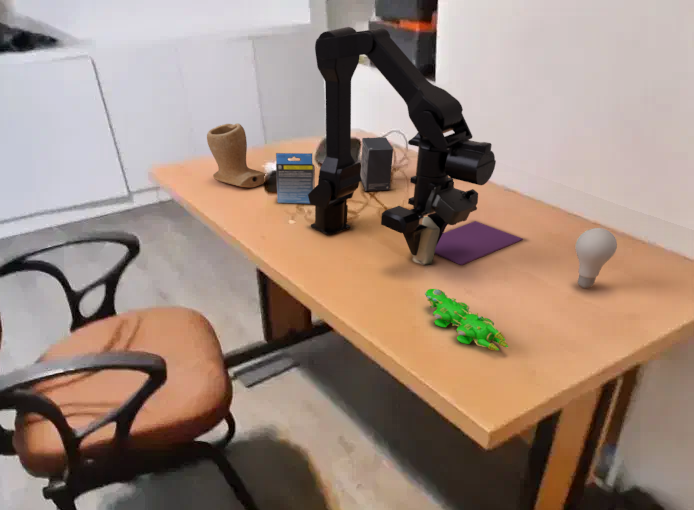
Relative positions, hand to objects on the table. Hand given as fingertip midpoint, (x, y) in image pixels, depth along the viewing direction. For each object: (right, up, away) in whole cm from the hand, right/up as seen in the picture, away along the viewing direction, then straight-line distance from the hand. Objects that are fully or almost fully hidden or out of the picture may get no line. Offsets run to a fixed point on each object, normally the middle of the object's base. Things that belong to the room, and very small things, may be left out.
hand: (423, 251), depth 121 cm
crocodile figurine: (0, -16, -20) cm, 25 cm away
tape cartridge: (-22, +17, +32) cm, 42 cm away
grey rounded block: (0, -2, +1) cm, 2 cm away
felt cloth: (+11, +3, +6) cm, 13 cm away
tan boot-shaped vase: (-36, +25, +45) cm, 63 cm away
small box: (-1, +23, +38) cm, 44 cm away
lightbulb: (+25, -8, -11) cm, 29 cm away
